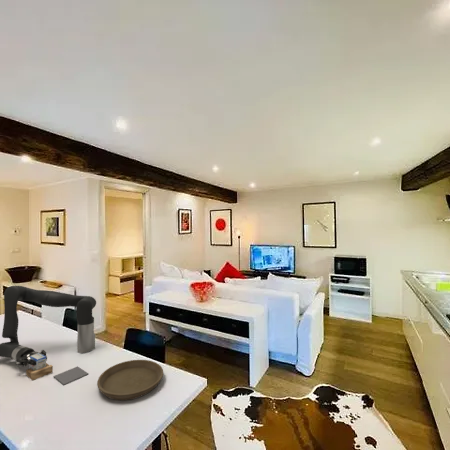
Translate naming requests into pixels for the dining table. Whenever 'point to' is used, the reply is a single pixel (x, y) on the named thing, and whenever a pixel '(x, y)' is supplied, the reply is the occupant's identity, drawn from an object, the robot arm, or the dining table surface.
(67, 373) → the mat
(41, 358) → the medicine box
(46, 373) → the bracket
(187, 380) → the dining table surface
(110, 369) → the plant saucer
